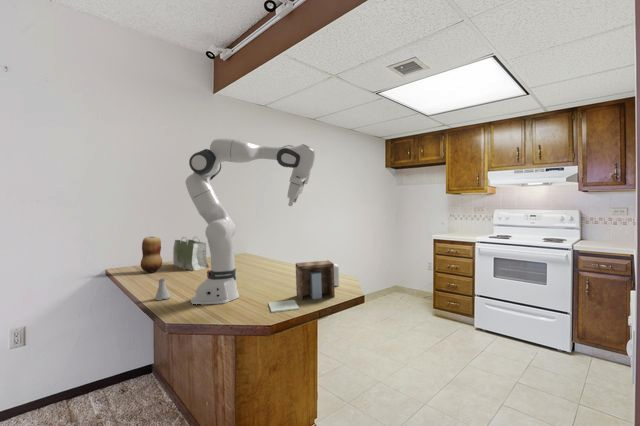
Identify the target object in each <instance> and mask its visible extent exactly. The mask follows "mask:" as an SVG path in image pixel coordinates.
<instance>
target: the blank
mask: <svg viewBox="0 0 640 426" xmlns="http://www.w3.org/2000/svg"><path fill="white" fill-rule="evenodd" d="M310 293H311V295H310V298H311V299H312V300H316V299H323V295H322V285H321V273H320V272H319V271H317V272H310Z"/></svg>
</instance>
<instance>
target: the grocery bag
mask: <svg viewBox="0 0 640 426" xmlns="http://www.w3.org/2000/svg"><path fill="white" fill-rule="evenodd" d="M195 239H198V241H196V240H195ZM172 249H173V251H172V252H173V254H172V255H173V256H172V259H173V261H172V262H173V266H174V265H175V266H174V267H177V266H180V267H179V268H181V267H182V268H181V269H184V268H185V269H184V270H186V269H188V270H187V271H191V270H193V271H192V272H195V271H194V270H196V271H201V270H205V269H210V267H209V264H208V261H207V242H203V241H201V238H199V236H193V237H192V239H188V237H187V236H182V237H181V238H180V240H179V239H175V240H174V244H173V248H172Z"/></svg>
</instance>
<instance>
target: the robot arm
mask: <svg viewBox="0 0 640 426" xmlns="http://www.w3.org/2000/svg"><path fill="white" fill-rule="evenodd" d="M315 159H316V152H315V150H314V149H313V148H312V147H311V146H309V145H306V144H304V143H303V144H299V145H296V146H294V145H292V144H291V145H289V144H287V145H284V146H281V147H276V146H275V147H273V146H263V145H257V144H255V143H252V142H248V141H245V140H240V139H236V138H217V139H214V140H212V141H211V143H210V145H209V148H204V149H203V150H199V151H197V152H194V154H192V155H191V156H190V157H189V160H188V161H189V162H188V163H189V164H188V165H189V167H190V169H191V170H192V171H193V173H192V174H190V175H188V176H187V178H186V179H185V186H186V187H185V188H186V189H187V192H188V194H189V197H190V198H191V201H192V203H193V205H194V206H195V208H196V211H197V212H198V214H199V216H201V217H202V219H204V221H205V222H206V223H207V226H206V228H205V230H204V231H205V237H206V238H207V244H208V248H209V253H210V266H211V269H208V270H207V271H206V275H207V277H206V278H207V279H205V280H204V281H203V282H202V283H201V284H200V285H198V287H197V288H196V290H195V295H194V296H193V297H192V298H191V299H190V304H191V303H192V304H191V305H193V304H196V305H195V306H197V304H201V305H217V304H218V305H219V304H226V303H228V302H230V301H235V300H236V299H239V298H240V293H239V291H238V287H237V281H236V280H237V270H236V265H235V264H236V263H235V252H234V251H235V250H234V247H233V243H232V238H233V237H234V235H235V233H236V229H237V228H236V225H235V223H234V221H233V220H232V218H231V216H230V215H229V213H228V212H227V211H226V209H225V208H224V206H223V205H222V203H221V201H220V200H219V198H218V195H217V194H216V192H215V191H214V189H213V186H212V184H211V183H210V181H212V180H213V179H214V178H215V177H216V176H217V175H218V174H219V173H220V172H221V169H222V164H221V163H223V162H229V163H238V164H239V163H240V164H241V163H243V164H244V163H249V162H252V161H256V160H272V161H277V163H278V164H279V165H280V166H281V167H284V168H290V169H291V168H292V171H291V176H290V178H289V186H288V190H287V198H289V199H288V206H289V207H292V206H293V204H294V203H295V204H296V203H297V200H298V198H299V196H300V195H301V194H302V193H303V189H304V186H305V185H307V184H308V183H309V179H310V175H311V171H312V168H313V167H314V164H315V163H314V162H315Z"/></svg>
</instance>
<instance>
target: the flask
mask: <svg viewBox="0 0 640 426" xmlns="http://www.w3.org/2000/svg"><path fill="white" fill-rule="evenodd" d="M157 281H158V287H157V292H156V294H155V298H154V300H155V299H156V300H158V301H163V300H162V299H166V300H168V299H167V298H169V299H170V298H171V295H170V292H169V290H168V287H167V286H166V278H163V277H162V278H158V279H157ZM156 300H155V301H156Z"/></svg>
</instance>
